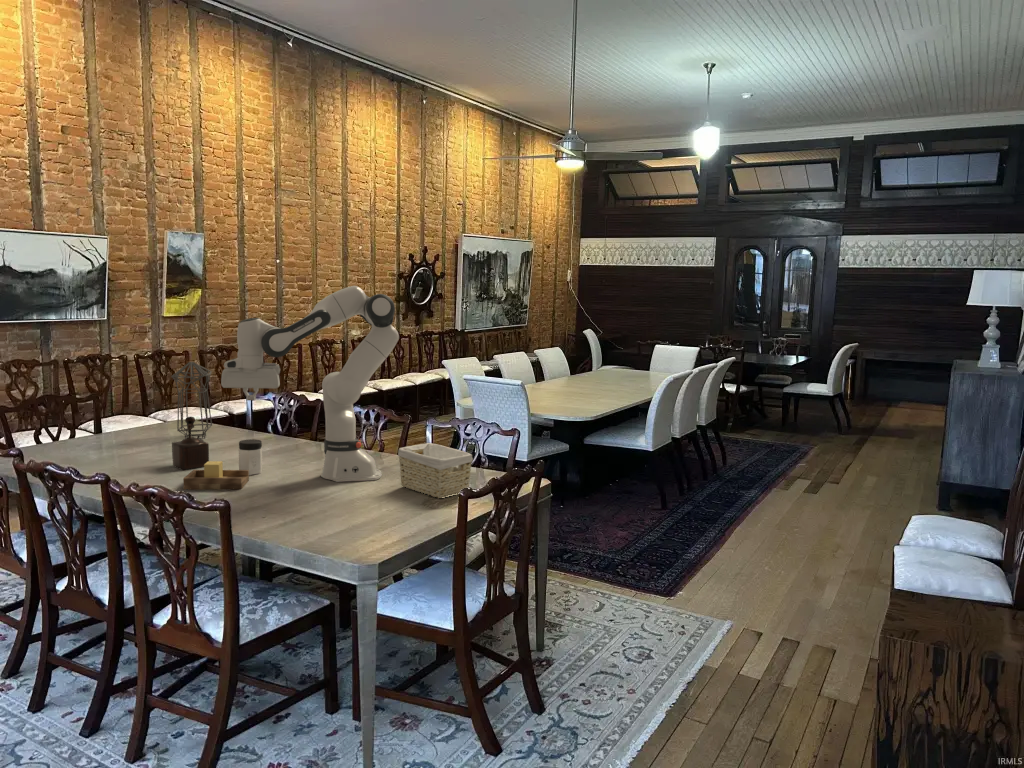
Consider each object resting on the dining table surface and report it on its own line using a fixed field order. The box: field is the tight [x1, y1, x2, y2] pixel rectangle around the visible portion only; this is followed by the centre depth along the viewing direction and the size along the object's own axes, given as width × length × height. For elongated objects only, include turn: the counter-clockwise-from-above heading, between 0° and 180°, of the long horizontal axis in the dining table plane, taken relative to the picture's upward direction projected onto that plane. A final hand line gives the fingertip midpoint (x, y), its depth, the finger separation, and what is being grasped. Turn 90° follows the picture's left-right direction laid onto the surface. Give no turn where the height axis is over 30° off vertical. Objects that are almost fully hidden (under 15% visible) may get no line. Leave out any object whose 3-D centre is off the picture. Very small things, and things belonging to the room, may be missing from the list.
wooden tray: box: [182, 469, 250, 491], centre depth 269 cm, size 19×12×4 cm, turn 97°
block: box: [203, 460, 224, 477], centre depth 268 cm, size 5×5×6 cm
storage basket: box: [397, 442, 474, 499], centre depth 271 cm, size 24×16×15 cm
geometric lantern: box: [170, 361, 213, 440], centre depth 345 cm, size 16×16×35 cm
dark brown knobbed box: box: [171, 416, 210, 471], centre depth 296 cm, size 16×11×18 cm
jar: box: [238, 439, 263, 476], centre depth 288 cm, size 9×8×12 cm
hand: (251, 400), depth 278 cm, fingers closed
